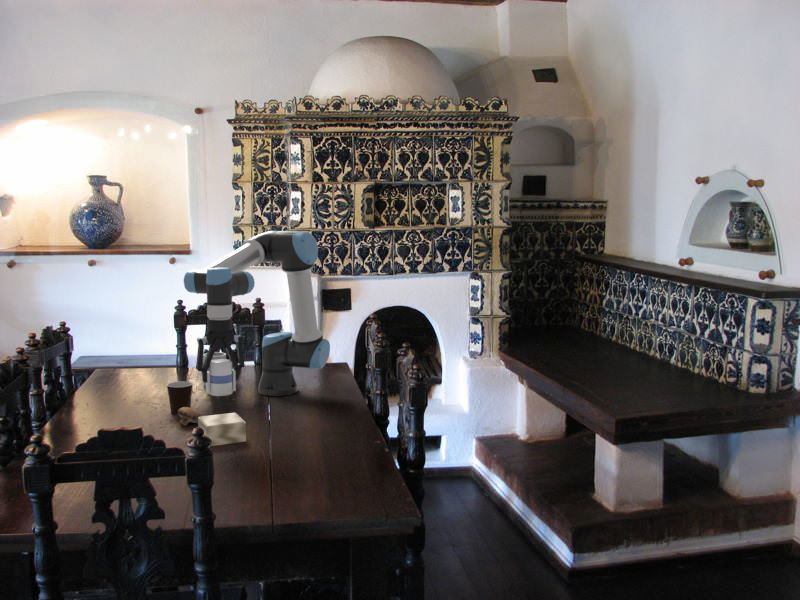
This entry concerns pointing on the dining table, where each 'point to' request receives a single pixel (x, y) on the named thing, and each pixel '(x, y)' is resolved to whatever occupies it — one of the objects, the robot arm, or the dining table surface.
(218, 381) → the white blue-banded canister
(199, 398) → the dining table surface
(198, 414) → the mushroom
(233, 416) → the birch block
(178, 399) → the coffee mug
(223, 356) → the cup
